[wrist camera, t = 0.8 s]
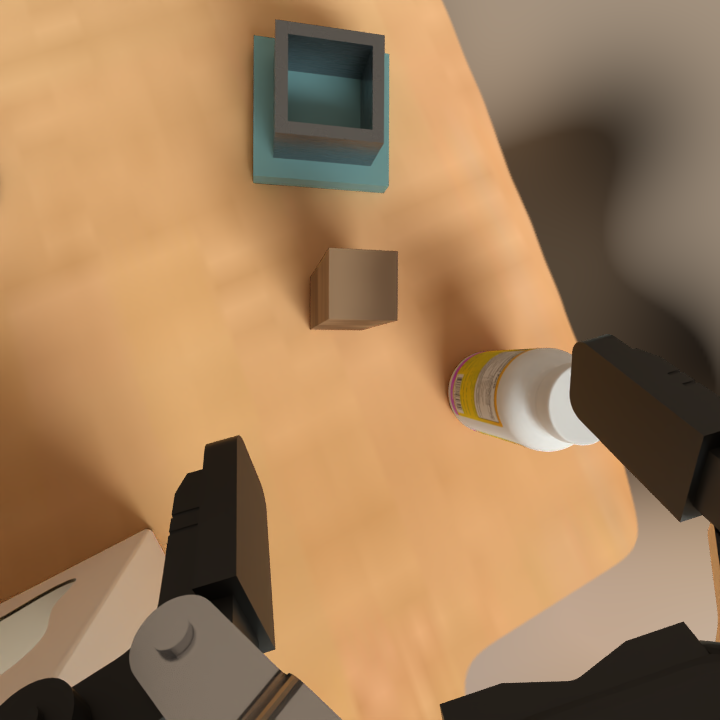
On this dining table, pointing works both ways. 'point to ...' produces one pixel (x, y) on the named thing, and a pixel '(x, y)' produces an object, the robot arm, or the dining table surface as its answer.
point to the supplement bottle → (519, 398)
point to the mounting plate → (317, 106)
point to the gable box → (80, 615)
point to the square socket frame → (333, 58)
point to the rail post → (354, 289)
